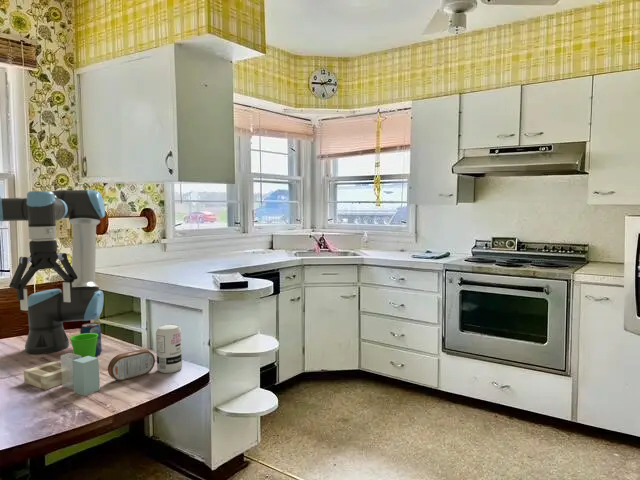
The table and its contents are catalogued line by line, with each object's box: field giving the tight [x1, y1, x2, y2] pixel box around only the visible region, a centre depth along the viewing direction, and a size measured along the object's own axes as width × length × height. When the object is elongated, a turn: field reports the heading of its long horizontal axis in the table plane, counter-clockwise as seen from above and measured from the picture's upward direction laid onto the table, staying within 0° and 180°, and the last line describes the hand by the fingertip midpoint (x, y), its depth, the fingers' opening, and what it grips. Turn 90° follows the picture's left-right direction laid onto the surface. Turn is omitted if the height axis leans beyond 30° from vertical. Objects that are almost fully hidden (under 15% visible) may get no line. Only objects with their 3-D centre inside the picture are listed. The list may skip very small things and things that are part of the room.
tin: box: [107, 348, 156, 382], centre depth 153 cm, size 15×3×8 cm, turn 136°
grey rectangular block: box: [60, 352, 81, 391], centre depth 145 cm, size 3×6×10 cm, turn 60°
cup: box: [69, 333, 99, 358], centre depth 163 cm, size 9×9×11 cm
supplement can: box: [155, 323, 183, 374], centre depth 159 cm, size 8×8×15 cm
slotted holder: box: [23, 360, 62, 390], centre depth 150 cm, size 10×12×4 cm
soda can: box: [79, 322, 102, 358], centre depth 175 cm, size 7×7×12 cm
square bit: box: [73, 356, 101, 396], centre depth 141 cm, size 5×5×10 cm
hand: (46, 305), depth 148 cm, fingers open, 13 cm apart
